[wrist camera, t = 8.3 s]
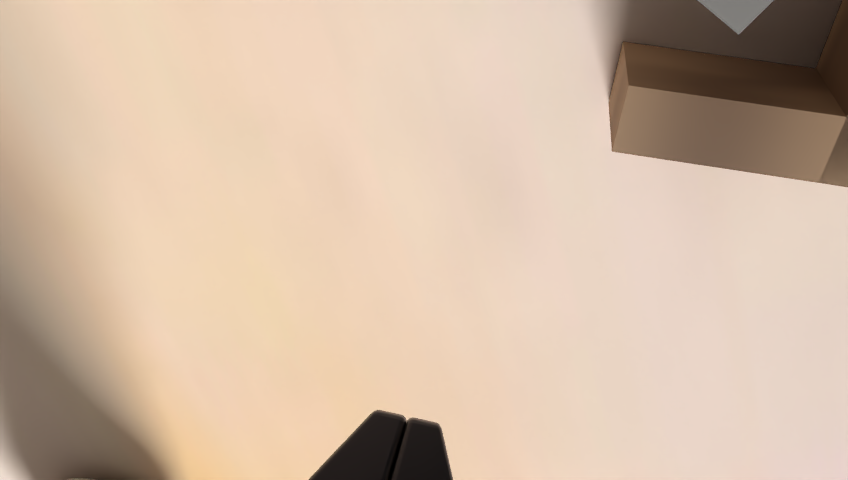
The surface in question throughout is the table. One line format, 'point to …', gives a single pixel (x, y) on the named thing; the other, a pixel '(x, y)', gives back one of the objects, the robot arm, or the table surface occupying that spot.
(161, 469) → the table surface
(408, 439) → the robot arm
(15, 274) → the table surface
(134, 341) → the table surface
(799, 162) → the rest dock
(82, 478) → the plastic bottle
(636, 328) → the table surface
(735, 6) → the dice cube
